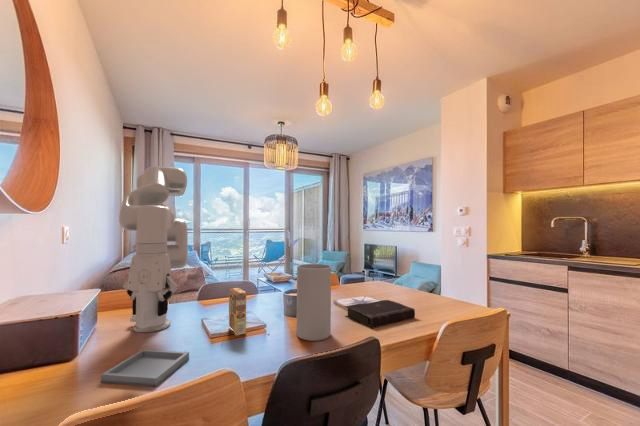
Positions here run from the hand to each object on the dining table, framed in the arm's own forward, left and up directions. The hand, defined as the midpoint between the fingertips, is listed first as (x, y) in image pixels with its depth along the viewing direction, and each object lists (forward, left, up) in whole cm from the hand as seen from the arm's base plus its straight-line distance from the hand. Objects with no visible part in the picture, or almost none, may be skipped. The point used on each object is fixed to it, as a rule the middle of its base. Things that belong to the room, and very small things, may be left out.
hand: (150, 313), depth 82 cm
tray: (0, 0, -15) cm, 15 cm away
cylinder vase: (+42, +31, -16) cm, 54 cm away
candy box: (+13, +31, -16) cm, 37 cm away
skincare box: (0, 0, -3) cm, 3 cm away
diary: (+68, +55, -16) cm, 89 cm away
